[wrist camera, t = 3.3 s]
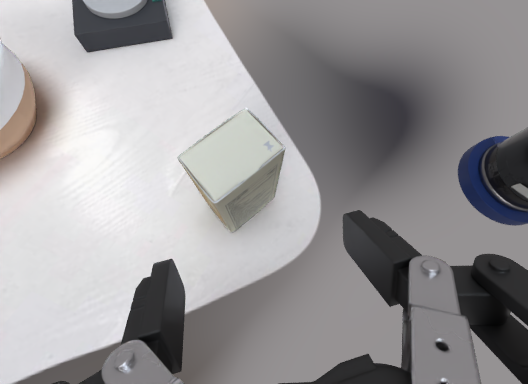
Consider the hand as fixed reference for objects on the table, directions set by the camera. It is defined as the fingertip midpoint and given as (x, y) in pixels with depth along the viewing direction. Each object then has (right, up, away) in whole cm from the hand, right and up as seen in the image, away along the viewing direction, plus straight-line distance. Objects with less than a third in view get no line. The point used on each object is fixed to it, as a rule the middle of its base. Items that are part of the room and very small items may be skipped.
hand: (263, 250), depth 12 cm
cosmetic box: (-3, +2, +17) cm, 17 cm away
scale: (-19, +27, +25) cm, 41 cm away
